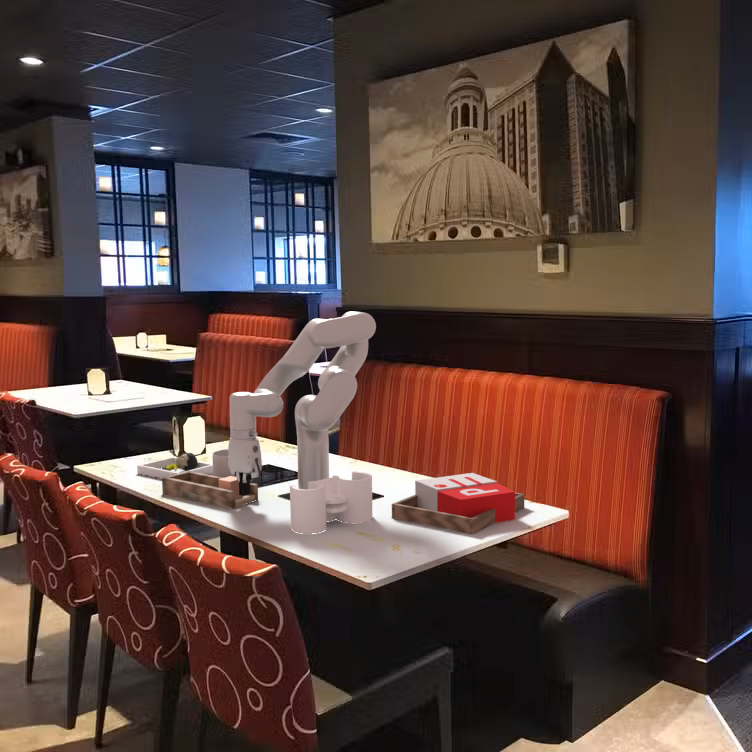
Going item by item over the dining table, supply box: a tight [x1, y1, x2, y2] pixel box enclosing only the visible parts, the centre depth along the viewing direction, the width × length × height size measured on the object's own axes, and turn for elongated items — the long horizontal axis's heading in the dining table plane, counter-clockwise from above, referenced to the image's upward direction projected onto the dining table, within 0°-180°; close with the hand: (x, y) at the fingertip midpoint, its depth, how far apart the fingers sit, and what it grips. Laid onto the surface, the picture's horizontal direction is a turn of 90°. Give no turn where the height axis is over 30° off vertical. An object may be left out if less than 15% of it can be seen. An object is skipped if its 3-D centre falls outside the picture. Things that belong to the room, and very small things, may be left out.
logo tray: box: [391, 492, 525, 535], centre depth 234 cm, size 26×30×4 cm
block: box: [218, 476, 239, 497], centre depth 248 cm, size 5×5×5 cm
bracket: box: [289, 471, 374, 534], centre depth 225 cm, size 25×10×12 cm, turn 131°
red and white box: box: [414, 472, 516, 524], centre depth 234 cm, size 24×8×20 cm
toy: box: [162, 452, 198, 472], centre depth 285 cm, size 9×6×15 cm
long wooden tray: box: [161, 471, 259, 510], centre depth 254 cm, size 31×11×5 cm, turn 54°
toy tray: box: [136, 456, 213, 480], centre depth 285 cm, size 22×16×3 cm
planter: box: [212, 448, 254, 483], centre depth 270 cm, size 13×13×10 cm
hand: (244, 494), depth 245 cm, fingers closed
